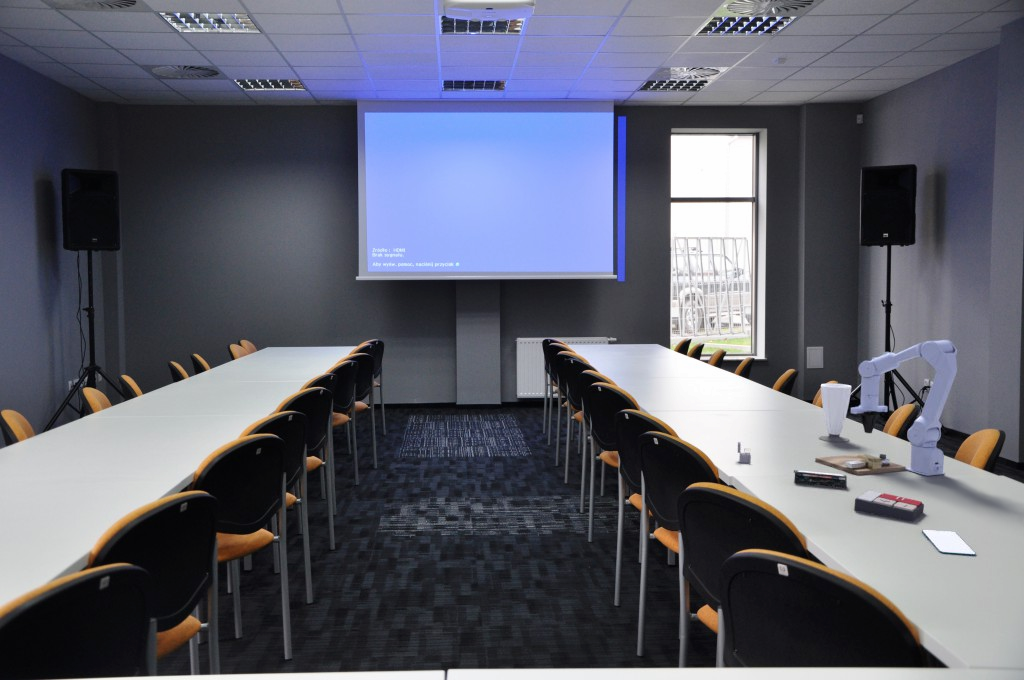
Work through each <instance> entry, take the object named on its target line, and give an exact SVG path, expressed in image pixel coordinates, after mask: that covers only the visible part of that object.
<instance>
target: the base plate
mask: <svg viewBox="0 0 1024 680" xmlns="http://www.w3.org/2000/svg"><path fill="white" fill-rule="evenodd" d="M860 454H861V453H854V454H845V455H834V456H823V457H821V456H820V457H815V458H814V459H815V461H814V462H816V463H819V464H823V465H826V466H829V467H831V468H834V469H838V470H841V471H845V472H846V473H851V474H854V475H856V476H864V475H871V474H872V475H873V474H882V473H884V474H885V473H889V472H890V473H893V472H901V471H903V472H904V471H907V470H906V468H907V467H906V466H904V465H901V464H897V463H894V462H891V461H890V465H881V469H869V468H868V467H861V468H849V467H845V462H850V461H859V460H863V459H860V458H857V455H860ZM878 458H881V459H886V458H887V454H883V453H880V454H879V457H878Z"/></svg>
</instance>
